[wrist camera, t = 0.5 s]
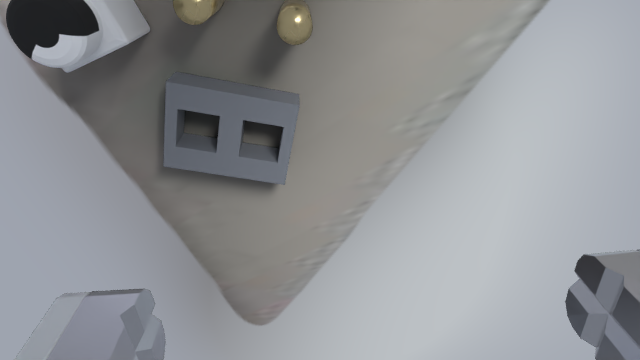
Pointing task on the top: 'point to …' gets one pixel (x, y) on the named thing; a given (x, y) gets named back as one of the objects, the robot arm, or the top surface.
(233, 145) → the block
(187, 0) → the pin
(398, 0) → the top surface
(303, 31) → the pin
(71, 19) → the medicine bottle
